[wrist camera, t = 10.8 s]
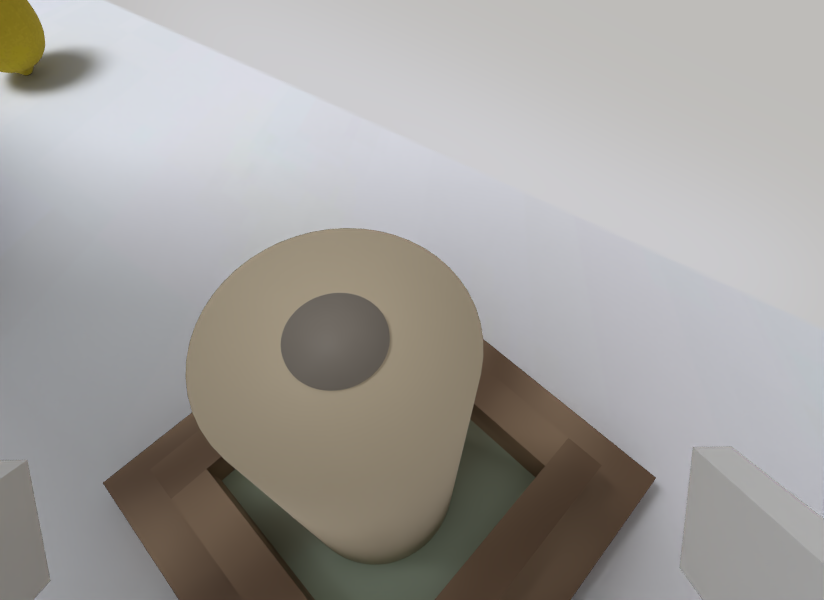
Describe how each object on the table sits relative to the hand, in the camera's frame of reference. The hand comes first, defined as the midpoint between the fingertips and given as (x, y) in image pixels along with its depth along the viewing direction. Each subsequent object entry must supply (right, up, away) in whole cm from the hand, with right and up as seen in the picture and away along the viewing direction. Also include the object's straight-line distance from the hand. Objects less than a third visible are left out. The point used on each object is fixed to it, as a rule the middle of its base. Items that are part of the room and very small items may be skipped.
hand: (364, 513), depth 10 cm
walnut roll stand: (0, -4, +12) cm, 12 cm away
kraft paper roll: (0, -3, +10) cm, 11 cm away
